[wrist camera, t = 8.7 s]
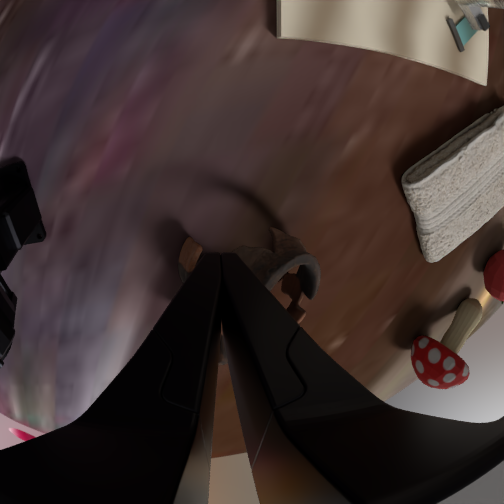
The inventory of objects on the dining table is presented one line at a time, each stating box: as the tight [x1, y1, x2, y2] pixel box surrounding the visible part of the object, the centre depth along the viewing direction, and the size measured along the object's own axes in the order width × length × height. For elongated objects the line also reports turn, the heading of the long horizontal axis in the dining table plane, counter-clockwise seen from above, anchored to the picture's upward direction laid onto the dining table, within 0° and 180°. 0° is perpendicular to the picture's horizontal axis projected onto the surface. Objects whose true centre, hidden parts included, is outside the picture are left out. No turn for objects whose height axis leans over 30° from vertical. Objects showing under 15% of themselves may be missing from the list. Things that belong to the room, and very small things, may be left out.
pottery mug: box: [178, 227, 321, 365], centre depth 23 cm, size 12×10×8 cm
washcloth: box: [402, 106, 504, 263], centre depth 24 cm, size 12×18×3 cm, turn 125°
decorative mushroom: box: [411, 298, 482, 389], centre depth 36 cm, size 11×11×15 cm
